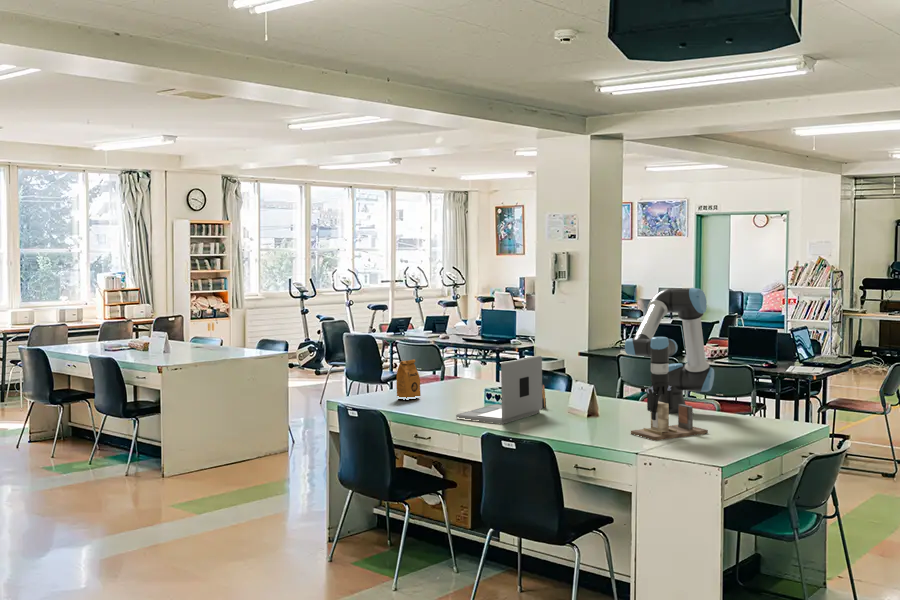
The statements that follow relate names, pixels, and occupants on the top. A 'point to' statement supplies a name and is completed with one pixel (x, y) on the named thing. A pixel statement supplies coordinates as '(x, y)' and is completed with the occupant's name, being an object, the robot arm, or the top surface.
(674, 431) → the rail
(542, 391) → the ammunition clip
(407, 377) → the coffee package
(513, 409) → the laptop
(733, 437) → the top surface
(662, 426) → the maple finger
